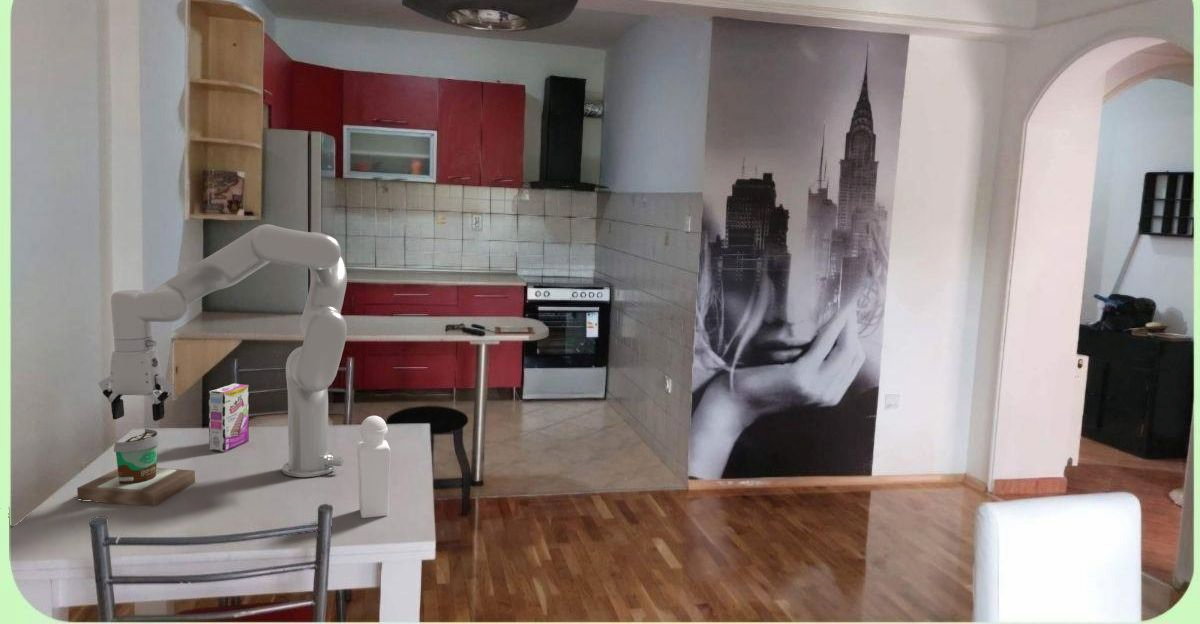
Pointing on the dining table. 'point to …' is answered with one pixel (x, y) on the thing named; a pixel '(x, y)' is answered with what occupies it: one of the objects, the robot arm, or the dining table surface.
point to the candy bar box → (228, 417)
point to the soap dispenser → (373, 468)
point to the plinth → (137, 488)
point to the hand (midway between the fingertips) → (138, 418)
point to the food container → (137, 457)
